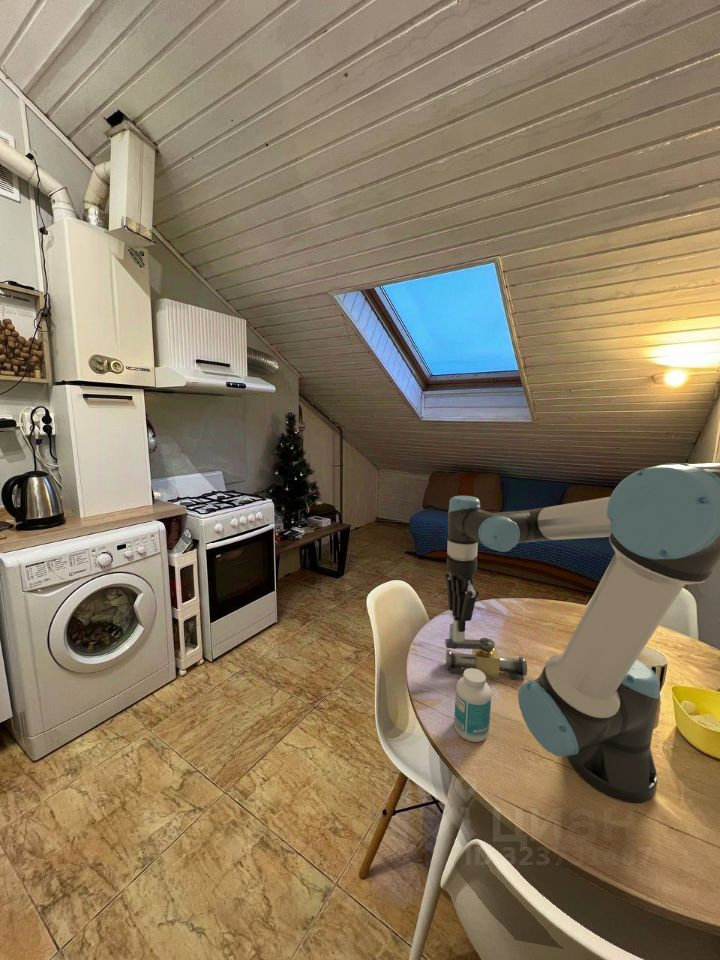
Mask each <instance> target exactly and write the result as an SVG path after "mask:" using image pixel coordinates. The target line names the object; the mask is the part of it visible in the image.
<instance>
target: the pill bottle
mask: <svg viewBox="0 0 720 960" xmlns="http://www.w3.org/2000/svg"><path fill="white" fill-rule="evenodd" d="M486 679H487V678H486V676H485V674H484V673H483V672H482V671H480V670H478V669H474V668H465V670H464V671H463V673H462V677H461V678H459V679H458V680H457V682H456V687H455V700H454V701H455V703H454V721H453V725H454V729H455V731H456V733H457V734H458V735H459V736H460V737H462V739H465V741H468V742H473V743H480V742H483V741H485V740H486V739H488V738H487V737H489V733H490V720H491V719H490V718H491V707H492V689H491V687H490V685H489V684H488V682H487V681H486Z"/></svg>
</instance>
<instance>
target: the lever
mask: <svg viewBox="0 0 720 960" xmlns="http://www.w3.org/2000/svg"><path fill="white" fill-rule="evenodd" d="M448 636H449V637H448V638H445V639H444V642H445V643H444V644H445V648H446V649H452V650H457V649H458V650H459V649H463V650H465V649H466V650H472V649H481V650H483V651H486V652H491V651H493V650H494V645H495V644H496V643H495V641H494V640H493V639H491V638H488V637H482V638H480V639H465V638H464V641H461V642H454V641H453V623H450V624H449V635H448ZM495 646H496V645H495Z"/></svg>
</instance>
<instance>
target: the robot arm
mask: <svg viewBox="0 0 720 960" xmlns="http://www.w3.org/2000/svg"><path fill="white" fill-rule="evenodd" d="M448 503H449V506H448V510H447V511H448V512H447V513H448V516H447V521H448V522H447V545H446V546H447V549H446V550H447V552H446V553H447V556H446V570H447V571H448V572H447V573H445V574H444V578H445V580H446V587H447V600H448V602H447V603H448V609H449V611H450V612H451V614H452V617H453V622H452V624H453V641H454V642H461V641H464V639H465V636H466V635H465V633H466V622H470V621H472V618H473V613H474V608H475V605H476V600H477V598H478V597H479V594H480V593H479V590H477V589H476V590H475V589H474V586H473V585H474V581H473V576H474V574H475V573H476V572H477V569H478V567H477V566H478V558H477V557H478V546H479V544H481V545H483V546H484V547H485V548H486V547H487V548H488V549H490V550H495V551H497V552H502V553H505V552H509V551H511V550H512V549H513V548H515V547H516V546H517V544H522V543H523V544H524V543H531V542H545V541H559V540H573V539H574V540H575V539H591V538H592V539H593V538H595V539H596V538H606V537H607V538H608V537H609V538H608V541H609V544H610V545H611V547H612V549H613V551H614V555H613V557H612V558H611V561H610V562H609V564H608V566H607V568H606V570H605V572H604V573H603V576H602V577H601V579H600V581H599V583H598V585H597V587H596V589H595V591H594V593H593V595H592V596H591V599H590V601H589V602H588V604H587V606H586V608H585V610H584V612H583V614H582V616H581V618H580V620H579V621H578V623H577V625H576V627H575V630H574V631H573V633H572V635H571V636H570V639H569V641H568V642H567V644H566V647H565V648H564V650H563V652H562V653H558V654H554V655H552V656H551V657H550V658H549V659H548V660H546V663H545V666H544V667H543V669H542V670H541V673H540V675H539V676H538V677H537V678H536V679H534V680H533V679H530V680H526V682H524V683H522V684H521V685H520V687H519V688H518V693H517V694H518V696H517V698H518V705H519V709H520V711H521V715H522V718H523V720H524V722H525V725H526V726H527V728H528V730H529V732H530V733H531V735H532V736H533V738H534V739H535V741H536V742H538V744H539V745H540V746H541V747H542V748H543V749H545V750H546V751H547V752H548V753H550V754H552V755H554V756H556V757H559V758H563V757H566V758H567V761H568V762H569V763H570V765H571V767H572V768H573V770H574V771H575V772H576V773H577V775H578V776H579V777H580V778H581V779H582V780H584V782H586V784H588V785H589V786H590V787H592V788H594V789H595V790H597V791H598V792H600V793H601V794H603V795H605V796H607V797H609V798H612V799H614V800H617V801H621V802H624V803H629V804H643V803H647V802H648V801H650V800H652V799H653V798H654V796H655V794H656V791H657V786H658V773H657V769H656V765H655V760H654V757H653V754H652V749H651V745H652V740H653V739H652V738H653V735H654V734H653V731H654V727H655V721H656V715H657V710H658V705H659V700H660V699H661V693H660V689H661V687H660V686H661V681H660V679H659V677H658V675H657V674H656V672H655V671H654V670H653V669H652V668H650V667H649V666H648V665H647V664H645V663H644V662H642V661H640V660H639V659H638V658H639V656H640V655H641V653H642V651H643V650H644V649H645V647H646V645H647V644H648V642H650V640H651V638H652V637H653V635H654V633H655V631H656V630H657V629H658V627H659V625H660V624H661V622H662V621H663V619H664V618H665V616H666V615H667V613H668V612H669V610H670V608H671V607H672V605H673V604H674V602H675V601H676V599H677V598H678V597H679V595H680V593H681V591H682V590H683V588H684V587H685V585H697V584H702V583H705V581H707V579H708V578H710V575H711V574H712V573H713V572H714V570H715V569H716V567H717V565H718V564H719V562H720V462H711V463H710V462H709V463H684V462H674V463H672V462H671V463H664V464H663V463H662V464H659V465H655V466H651V467H645V468H642V469H640V470H637V471H635V472H632V473H631V474H630V475H628V476H626V477H625V478H624V479H622V480H621V481H620V482H619V483H618V485H617V486H616V487H615V488H614V490H613V491H612V493H611V495H610V496H607V497H601V498H596V499H589V500H584V501H577V502H572V503H571V502H570V503H565V504H559V505H554V506H553V505H552V506H548V507H547V506H546V507H540V508H533V509H527V510H526V509H524V510H516V511H515V510H514V511H502V512H489V511H487V510H483V509H482V508H481V501H480V499H479V498H478V497H475V496H471V495H455V496H453V497H451V498H450V499H449V502H448Z"/></svg>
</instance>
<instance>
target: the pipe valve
mask: <svg viewBox="0 0 720 960" xmlns="http://www.w3.org/2000/svg"><path fill="white" fill-rule="evenodd" d="M471 650H472V653H461V652H452V651H451V649H446V651H445V665H446V669H449V673H450V674H453V675H454V674H455V675H463V673H462V672H463V669H462V668H464V669H469V668H474V669H478V670H480V671H482V672H483V673H484V674H485V676H486V679H490V680H491V679H493V680H499V676H500V672H506V673H507V672H508V674H509V677H510V679H511V680H514V681H522V682H524V679H525V678H524V677H526V676H527V675H528V664H527V660H526V657H525V656H519V657H518V658H516V657H515V658H514V657H513V658H512V657H504V656H499V652H498V649H497V647H496V645H494V650H493V651H491V652H486V651H483V650H481V649H471Z"/></svg>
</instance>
